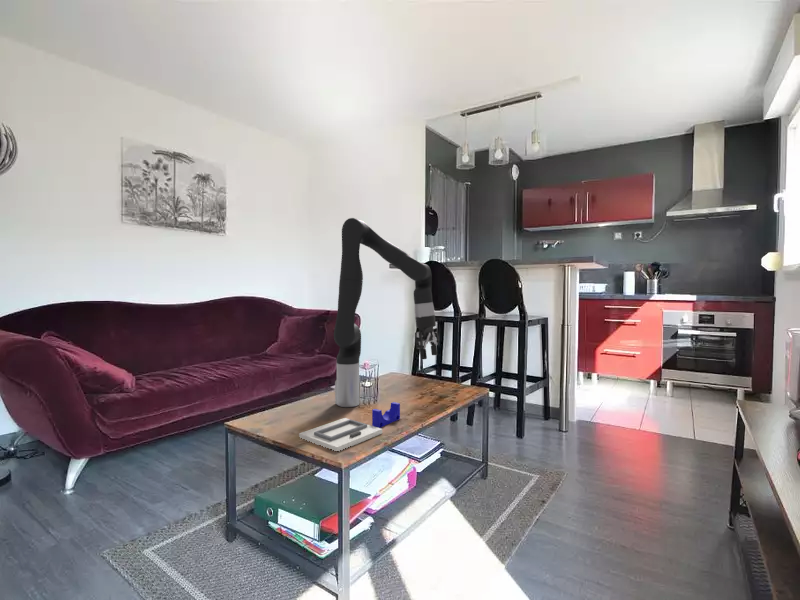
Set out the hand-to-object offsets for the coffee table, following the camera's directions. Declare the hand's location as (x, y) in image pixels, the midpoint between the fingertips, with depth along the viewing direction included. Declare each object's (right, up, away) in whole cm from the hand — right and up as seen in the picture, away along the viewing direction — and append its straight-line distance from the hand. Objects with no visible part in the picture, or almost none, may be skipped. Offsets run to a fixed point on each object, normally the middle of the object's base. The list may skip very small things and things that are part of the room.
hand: (429, 357), depth 161 cm
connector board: (-30, -22, -24) cm, 45 cm away
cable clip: (-17, -22, -10) cm, 30 cm away
